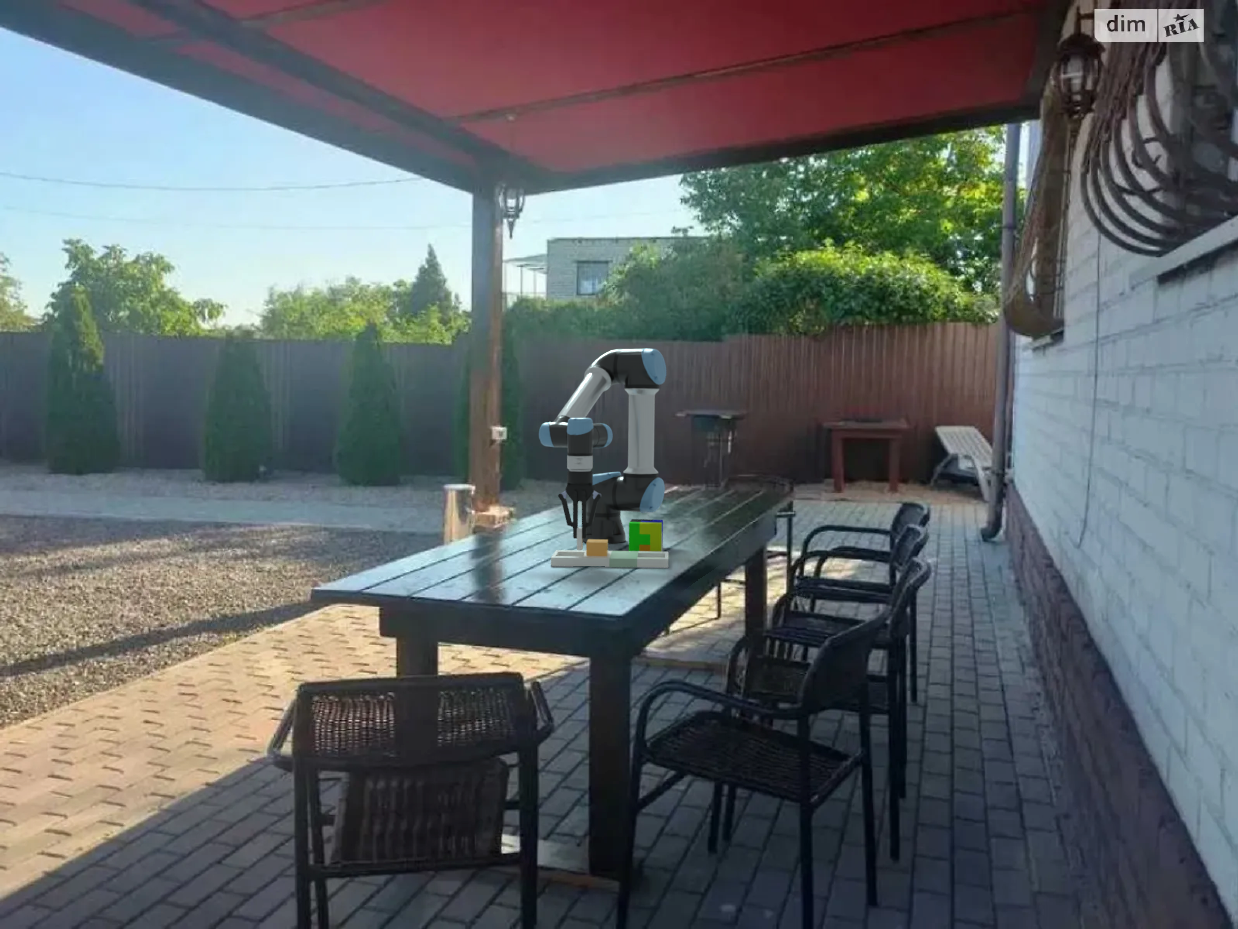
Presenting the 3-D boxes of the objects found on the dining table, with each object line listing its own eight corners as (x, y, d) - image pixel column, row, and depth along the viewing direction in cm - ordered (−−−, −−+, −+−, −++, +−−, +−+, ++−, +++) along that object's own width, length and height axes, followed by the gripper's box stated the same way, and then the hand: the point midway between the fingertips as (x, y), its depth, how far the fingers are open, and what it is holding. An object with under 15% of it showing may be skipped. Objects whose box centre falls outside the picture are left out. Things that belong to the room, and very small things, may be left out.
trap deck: (556, 558, 306) (556, 550, 306) (668, 559, 304) (668, 551, 304) (550, 566, 292) (550, 557, 292) (668, 567, 291) (668, 559, 290)
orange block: (587, 552, 301) (588, 539, 301) (607, 552, 301) (608, 539, 301) (586, 555, 295) (586, 542, 295) (606, 556, 295) (606, 542, 295)
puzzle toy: (662, 550, 322) (662, 519, 321) (660, 555, 312) (661, 523, 312) (631, 550, 323) (631, 519, 322) (628, 555, 313) (629, 523, 313)
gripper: (556, 470, 293) (556, 551, 295) (601, 471, 293) (600, 551, 294) (559, 468, 301) (559, 547, 303) (602, 469, 300) (602, 547, 302)
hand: (579, 549), depth 298 cm, fingers closed
